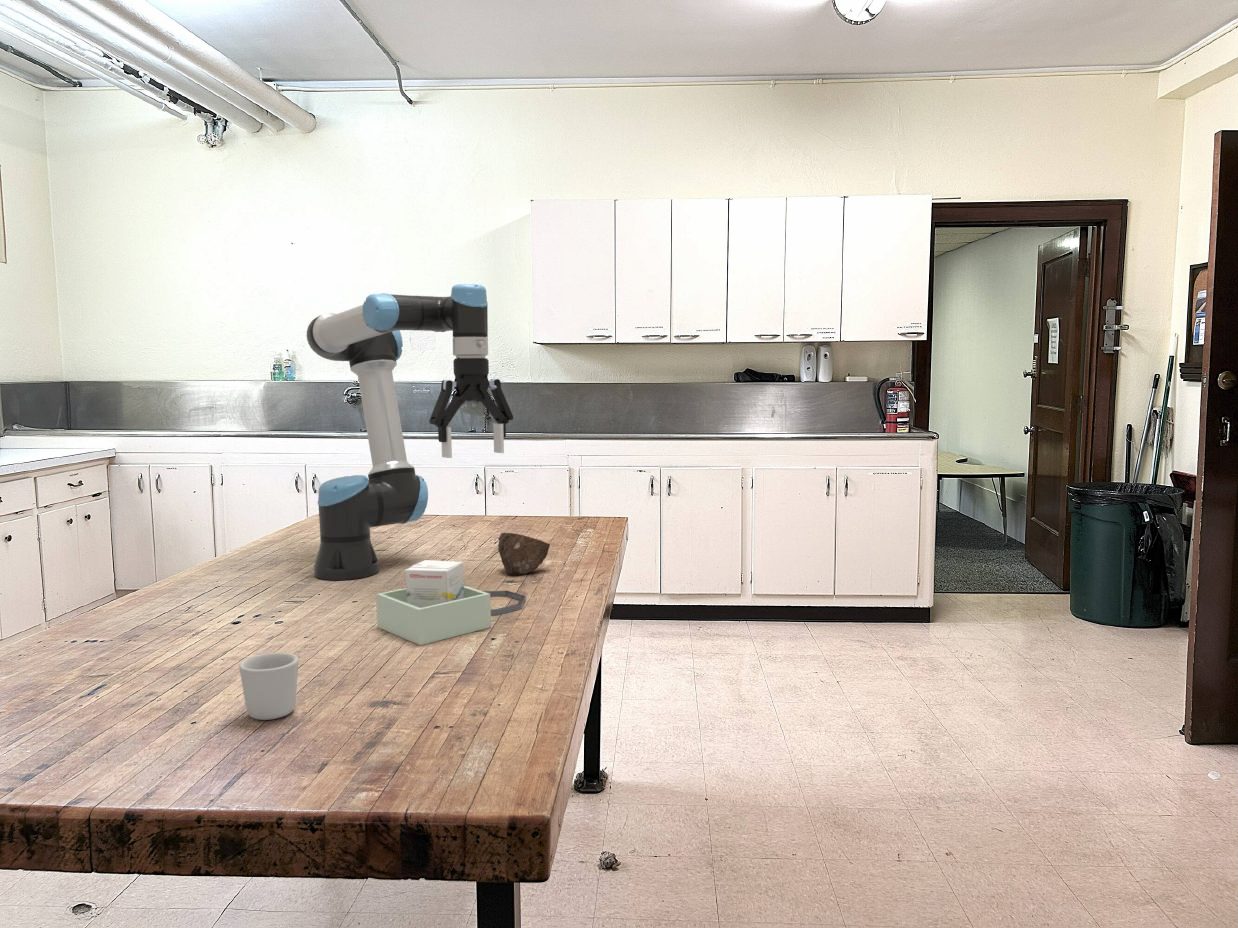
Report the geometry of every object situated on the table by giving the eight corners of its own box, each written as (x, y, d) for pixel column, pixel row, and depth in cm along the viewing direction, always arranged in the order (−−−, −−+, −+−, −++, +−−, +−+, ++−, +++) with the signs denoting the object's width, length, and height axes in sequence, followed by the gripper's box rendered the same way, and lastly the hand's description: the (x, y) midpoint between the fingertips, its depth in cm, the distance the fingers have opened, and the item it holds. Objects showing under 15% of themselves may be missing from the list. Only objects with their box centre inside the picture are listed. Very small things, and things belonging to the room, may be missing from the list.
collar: (434, 604, 187) (434, 600, 187) (495, 591, 197) (495, 586, 197) (477, 619, 175) (477, 614, 175) (538, 604, 186) (538, 600, 186)
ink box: (466, 618, 174) (464, 560, 173) (449, 631, 166) (447, 570, 165) (425, 616, 176) (423, 558, 175) (406, 628, 168) (404, 568, 166)
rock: (549, 548, 220) (551, 532, 211) (540, 586, 215) (541, 571, 206) (501, 536, 220) (501, 520, 211) (490, 574, 215) (490, 559, 206)
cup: (258, 697, 135) (255, 646, 134) (311, 695, 136) (309, 645, 135) (234, 725, 125) (231, 671, 124) (292, 723, 125) (289, 669, 124)
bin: (377, 627, 171) (376, 593, 170) (446, 611, 182) (445, 579, 181) (420, 645, 160) (418, 609, 159) (491, 627, 170) (490, 593, 170)
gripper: (430, 357, 180) (433, 460, 182) (527, 357, 197) (529, 451, 199) (410, 357, 185) (414, 458, 187) (507, 357, 202) (509, 449, 204)
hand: (473, 455), depth 193 cm, fingers open, 13 cm apart
